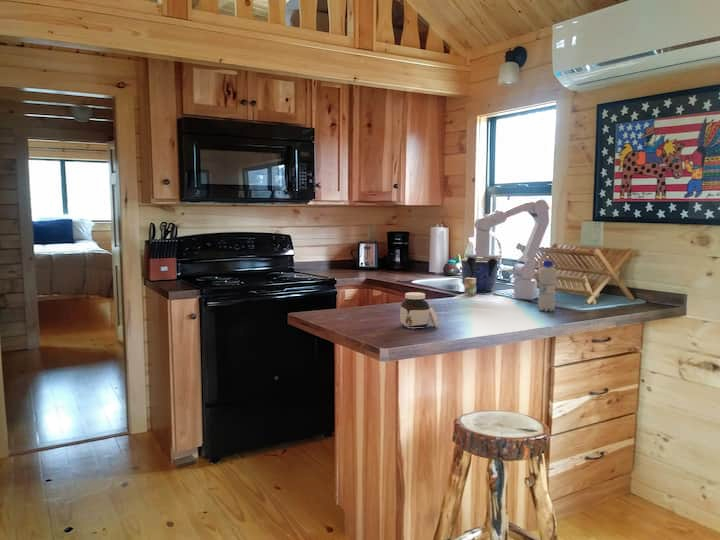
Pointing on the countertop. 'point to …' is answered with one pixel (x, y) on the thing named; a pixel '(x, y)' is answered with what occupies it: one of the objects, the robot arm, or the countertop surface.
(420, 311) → the spread jar
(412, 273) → the countertop surface
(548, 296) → the bottle
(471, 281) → the maple cube
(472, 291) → the sage base cube
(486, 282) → the planter
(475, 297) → the white rectangular panel
